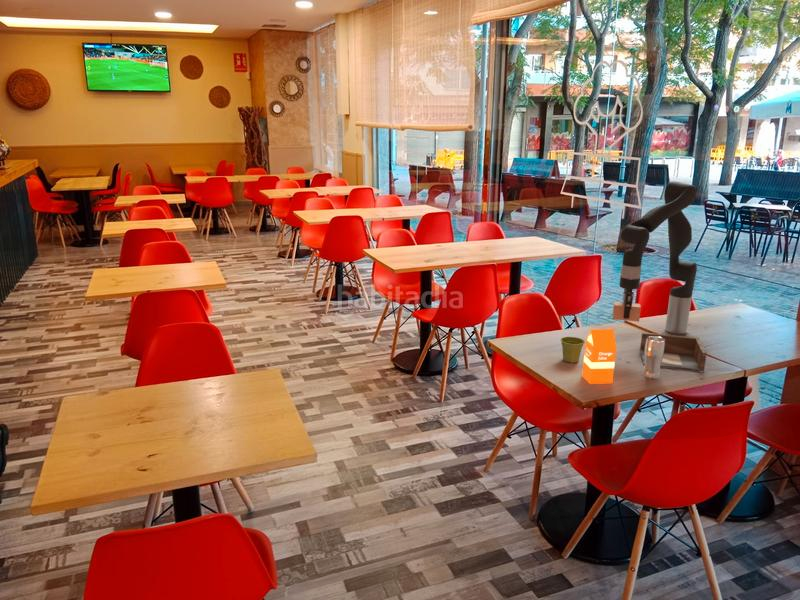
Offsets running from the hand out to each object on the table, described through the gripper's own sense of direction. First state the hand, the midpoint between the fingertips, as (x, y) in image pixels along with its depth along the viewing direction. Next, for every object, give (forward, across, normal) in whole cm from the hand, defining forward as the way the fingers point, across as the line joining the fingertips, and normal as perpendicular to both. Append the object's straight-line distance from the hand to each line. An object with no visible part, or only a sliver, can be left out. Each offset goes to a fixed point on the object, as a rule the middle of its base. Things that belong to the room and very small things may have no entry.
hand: (625, 316), depth 251 cm
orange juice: (+17, +29, -10) cm, 35 cm away
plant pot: (+17, +12, -20) cm, 29 cm away
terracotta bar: (+1, 0, 0) cm, 1 cm away
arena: (+17, 0, +19) cm, 26 cm away
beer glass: (+17, +19, +10) cm, 28 cm away
